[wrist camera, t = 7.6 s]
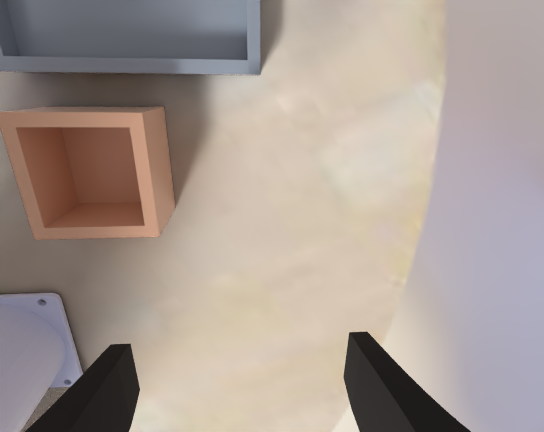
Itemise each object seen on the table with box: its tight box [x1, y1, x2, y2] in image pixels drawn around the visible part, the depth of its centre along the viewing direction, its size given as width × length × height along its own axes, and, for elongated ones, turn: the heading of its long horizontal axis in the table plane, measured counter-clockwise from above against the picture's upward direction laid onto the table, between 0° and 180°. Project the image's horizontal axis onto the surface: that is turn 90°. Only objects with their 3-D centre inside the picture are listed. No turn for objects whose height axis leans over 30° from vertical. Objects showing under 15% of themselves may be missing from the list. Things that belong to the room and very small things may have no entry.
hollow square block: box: [0, 106, 176, 240], centre depth 16 cm, size 6×6×4 cm
